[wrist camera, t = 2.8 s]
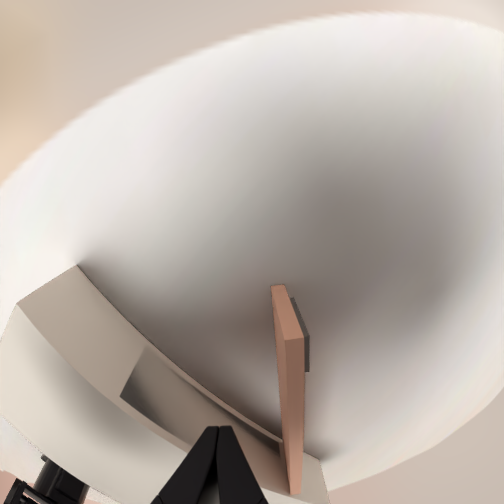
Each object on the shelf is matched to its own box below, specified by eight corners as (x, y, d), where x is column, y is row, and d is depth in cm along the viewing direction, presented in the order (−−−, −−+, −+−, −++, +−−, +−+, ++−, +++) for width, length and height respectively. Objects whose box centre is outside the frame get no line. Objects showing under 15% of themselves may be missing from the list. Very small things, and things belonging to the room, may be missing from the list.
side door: (282, 442, 15) (290, 495, 11) (270, 286, 12) (284, 340, 8) (295, 441, 15) (305, 492, 11) (290, 283, 12) (313, 336, 8)
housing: (214, 498, 19) (212, 537, 14) (17, 360, 14) (-17, 395, 9) (319, 459, 17) (331, 508, 12) (76, 264, 12) (16, 303, 7)
